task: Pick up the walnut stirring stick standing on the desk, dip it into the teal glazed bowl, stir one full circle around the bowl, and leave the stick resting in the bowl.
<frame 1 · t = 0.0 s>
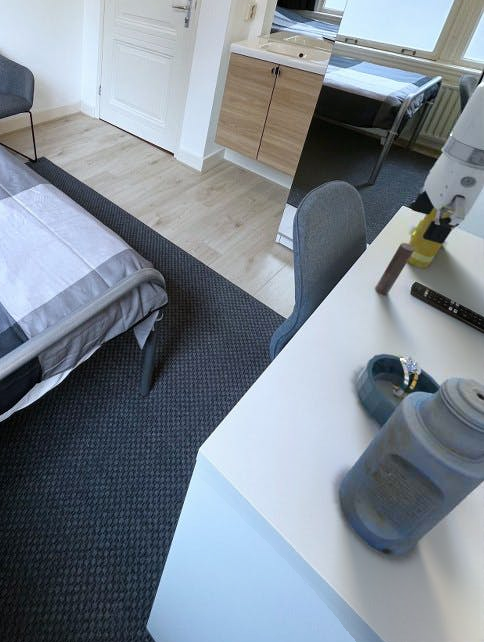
hand: (425, 225, 83), 25 cm above the table, tool pointing down, fingers open, 9 cm apart
bottle: (371, 515, 62), on the table
stir stick: (379, 294, 100), on the table
bowl: (393, 407, 76), on the table
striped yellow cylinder: (420, 251, 115), on the table
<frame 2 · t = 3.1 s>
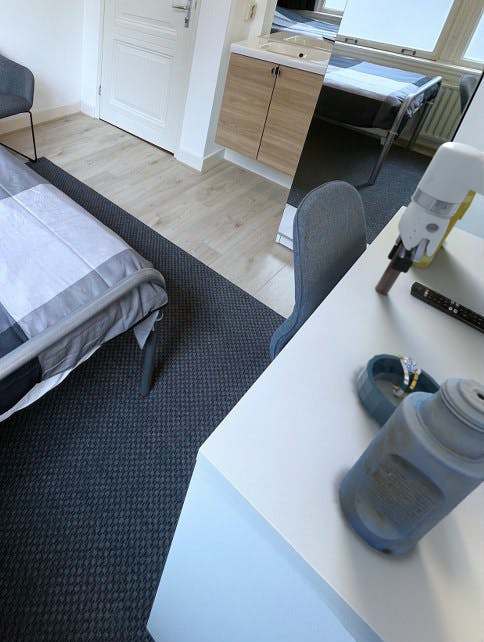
hand: (396, 264, 95), 10 cm above the table, tool pointing down, fingers closed on stir stick, 2 cm apart
stir stick: (379, 294, 100), on the table, touching gripper
everything else where it was.
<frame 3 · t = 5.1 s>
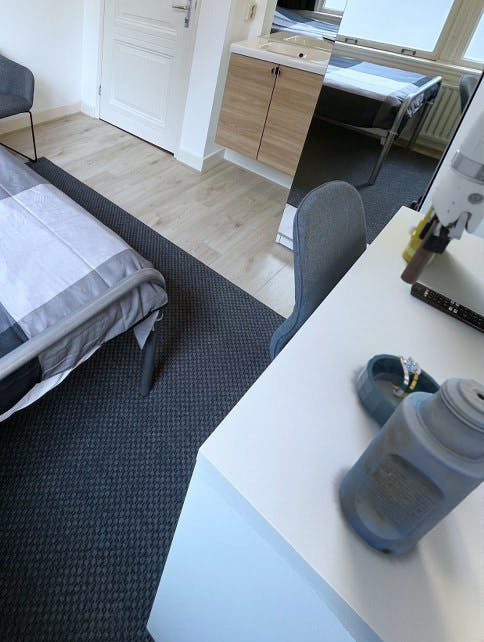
hand: (429, 245, 83), 22 cm above the table, tool pointing down, fingers closed on stir stick, 2 cm apart
stir stick: (407, 279, 87), point 13 cm above the table, touching gripper
everything else where it was.
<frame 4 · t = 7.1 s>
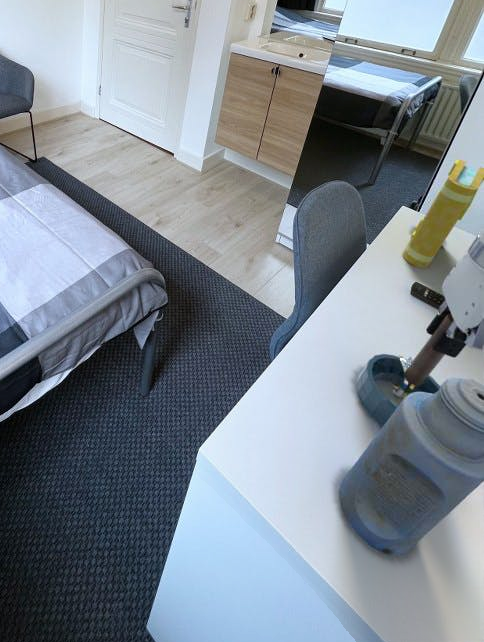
hand: (440, 343, 67), 18 cm above the table, tool pointing down, fingers closed on stir stick, 2 cm apart
stir stick: (412, 378, 72), point 8 cm above the table, touching gripper
everything else where it was.
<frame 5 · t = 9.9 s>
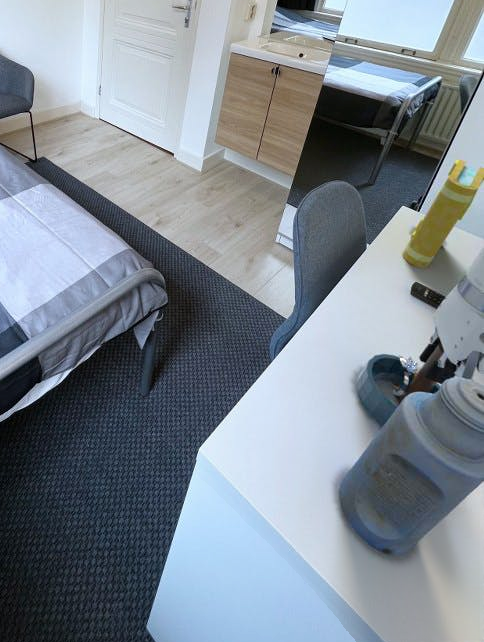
hand: (432, 371, 71), 11 cm above the table, tool pointing down, fingers closed on stir stick, 2 cm apart
stir stick: (406, 403, 75), point 1 cm above the table, touching gripper
everything else where it was.
when the fingers open (10 cm above the table, at t = 11.6 s): stir stick stays where it is, resting on bowl.
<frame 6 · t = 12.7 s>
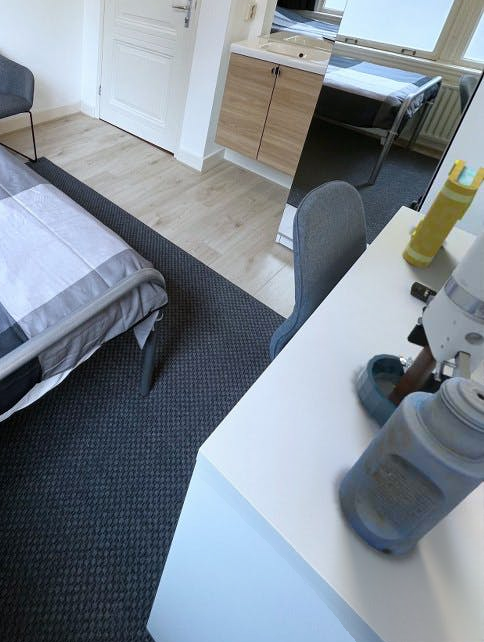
hand: (423, 367, 70), 12 cm above the table, tool pointing down, fingers open, 9 cm apart
stir stick: (393, 405, 76), point 1 cm above the table, touching bowl
everything else where it was.
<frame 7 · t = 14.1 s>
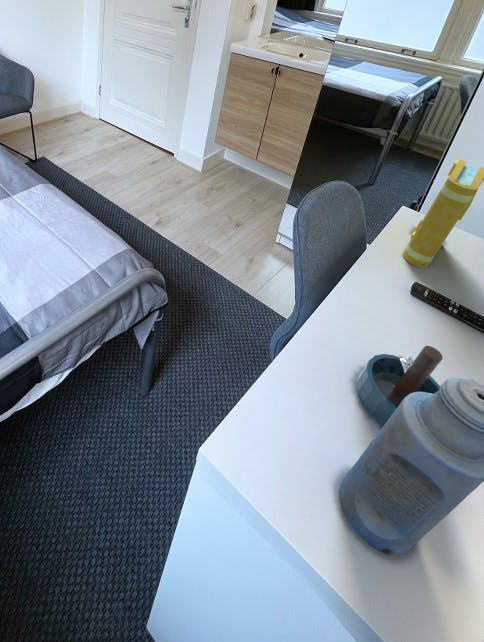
nothing on the table moved.
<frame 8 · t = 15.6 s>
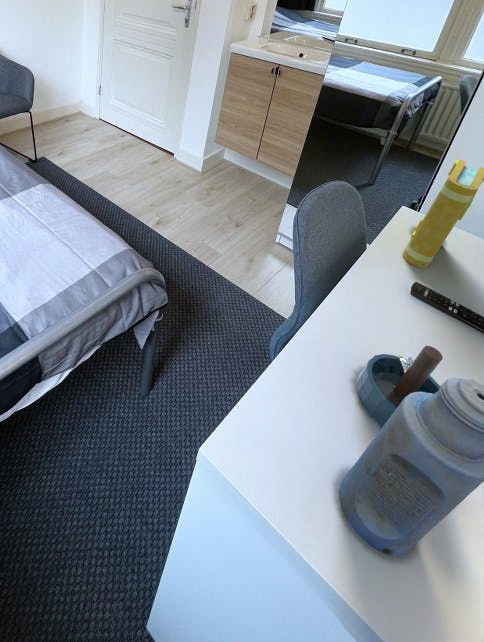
nothing on the table moved.
at the end: stir stick inside the target area in the bowl (0.2 cm from its centre), point 0.6 cm above the bowl's base; stir stick moved 30.1 cm from its start; the gripper is holding nothing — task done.
